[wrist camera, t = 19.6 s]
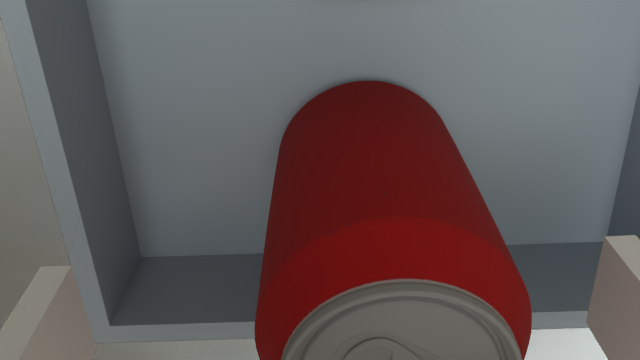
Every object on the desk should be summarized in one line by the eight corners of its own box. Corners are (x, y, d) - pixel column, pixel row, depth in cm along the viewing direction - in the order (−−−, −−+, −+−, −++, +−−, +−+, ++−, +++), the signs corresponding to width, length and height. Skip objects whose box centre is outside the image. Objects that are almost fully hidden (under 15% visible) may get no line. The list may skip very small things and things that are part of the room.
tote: (130, 265, 27) (92, 343, 22) (7, -275, 18) (-96, -324, 13) (614, 248, 26) (674, 324, 22) (740, -312, 17) (884, -374, 13)
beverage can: (364, 255, 26) (396, 525, 15) (243, 159, 24) (183, 395, 13) (484, 150, 24) (621, 382, 13) (363, 34, 21) (407, 198, 11)
